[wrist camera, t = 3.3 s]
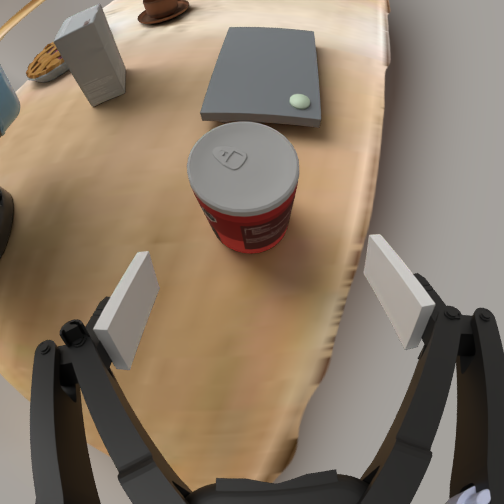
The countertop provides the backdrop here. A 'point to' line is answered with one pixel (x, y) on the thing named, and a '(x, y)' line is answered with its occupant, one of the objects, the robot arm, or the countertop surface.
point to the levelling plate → (265, 78)
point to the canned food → (245, 183)
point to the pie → (47, 65)
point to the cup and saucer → (161, 10)
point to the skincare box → (92, 55)
